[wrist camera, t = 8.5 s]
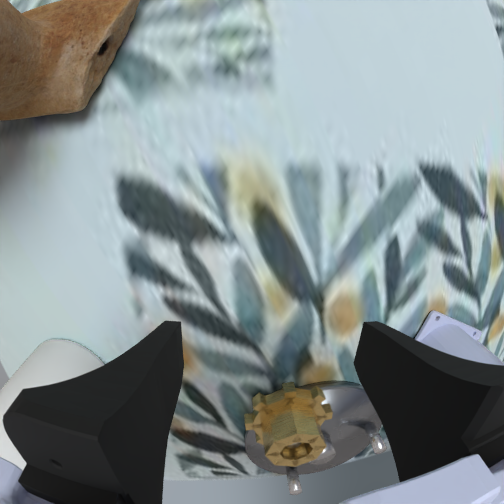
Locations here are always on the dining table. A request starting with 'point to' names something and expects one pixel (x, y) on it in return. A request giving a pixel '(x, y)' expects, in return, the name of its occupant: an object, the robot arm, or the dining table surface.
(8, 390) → the alcohol
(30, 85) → the stone cup
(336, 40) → the dining table surface
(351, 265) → the dining table surface
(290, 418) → the planet gear
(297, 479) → the carrier
